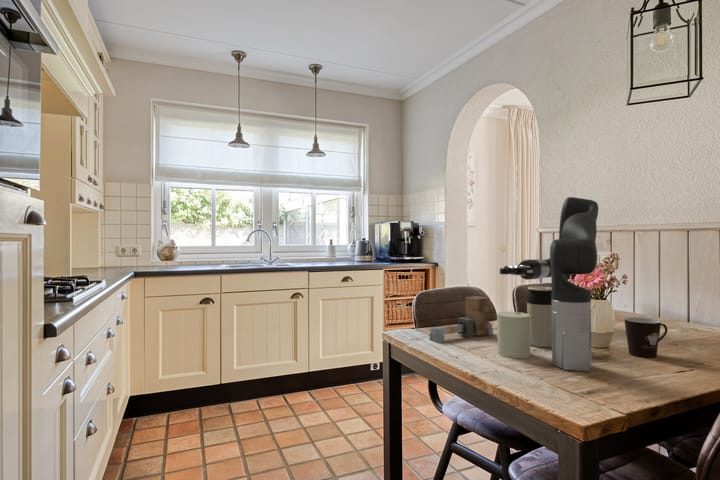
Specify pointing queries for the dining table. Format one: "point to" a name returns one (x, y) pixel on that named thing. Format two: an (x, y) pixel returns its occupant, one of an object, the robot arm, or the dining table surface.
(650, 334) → the coffee mug
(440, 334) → the grey angular blocks
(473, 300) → the wooden rectangular block
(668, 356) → the dining table surface
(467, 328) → the dark grey block
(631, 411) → the dining table surface
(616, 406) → the dining table surface
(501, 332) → the can
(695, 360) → the dining table surface
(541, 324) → the travel mug
